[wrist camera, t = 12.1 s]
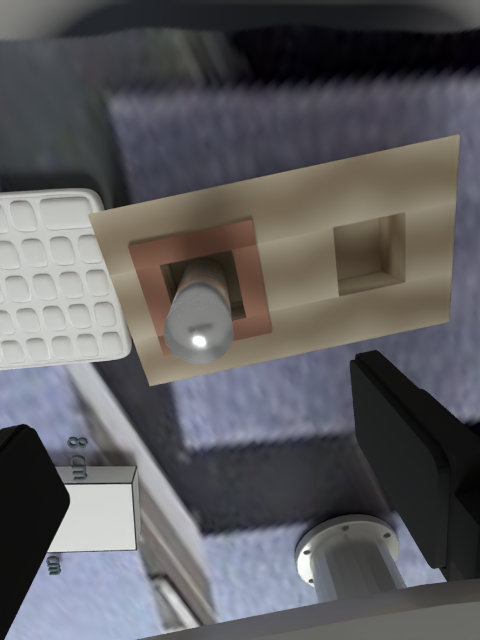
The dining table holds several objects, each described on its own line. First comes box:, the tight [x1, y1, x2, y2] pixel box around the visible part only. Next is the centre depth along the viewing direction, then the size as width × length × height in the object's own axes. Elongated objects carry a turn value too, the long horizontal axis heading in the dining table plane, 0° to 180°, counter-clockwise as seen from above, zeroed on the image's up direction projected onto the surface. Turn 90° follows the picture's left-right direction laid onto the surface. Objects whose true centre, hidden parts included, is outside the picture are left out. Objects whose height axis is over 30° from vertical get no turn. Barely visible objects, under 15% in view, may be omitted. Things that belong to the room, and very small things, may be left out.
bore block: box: [88, 134, 460, 386], centre depth 23 cm, size 12×22×5 cm, turn 101°
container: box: [46, 437, 141, 575], centre depth 32 cm, size 20×11×3 cm, turn 176°
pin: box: [164, 257, 234, 364], centre depth 19 cm, size 3×3×10 cm
